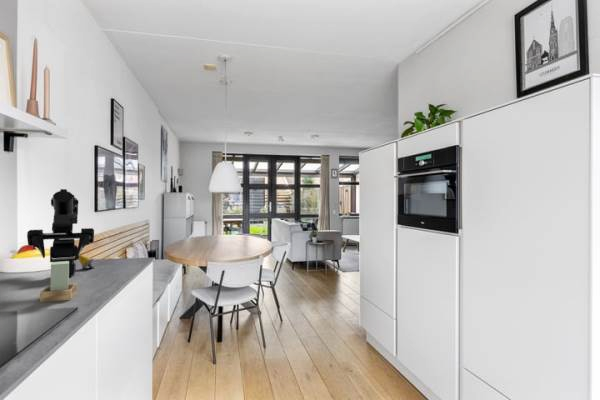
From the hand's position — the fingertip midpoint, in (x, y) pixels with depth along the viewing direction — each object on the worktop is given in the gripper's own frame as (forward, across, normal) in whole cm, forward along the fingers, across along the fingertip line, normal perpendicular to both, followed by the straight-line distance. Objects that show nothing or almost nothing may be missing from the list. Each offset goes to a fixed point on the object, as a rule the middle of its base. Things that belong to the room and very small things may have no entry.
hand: (61, 256), depth 108 cm
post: (+14, 0, +3) cm, 14 cm away
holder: (+14, 0, +3) cm, 14 cm away
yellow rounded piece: (-15, +7, +32) cm, 36 cm away
